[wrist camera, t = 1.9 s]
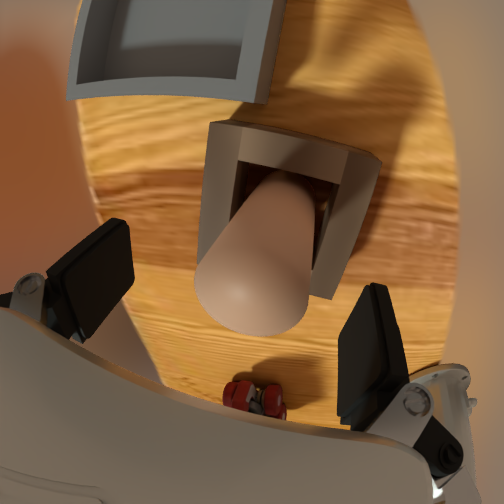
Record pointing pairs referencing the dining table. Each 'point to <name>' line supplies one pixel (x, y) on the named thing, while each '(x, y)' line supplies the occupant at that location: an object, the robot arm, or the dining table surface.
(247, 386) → the red toy race car
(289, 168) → the collar block
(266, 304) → the dowel
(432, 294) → the dining table surface
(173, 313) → the dining table surface
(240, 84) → the tray
